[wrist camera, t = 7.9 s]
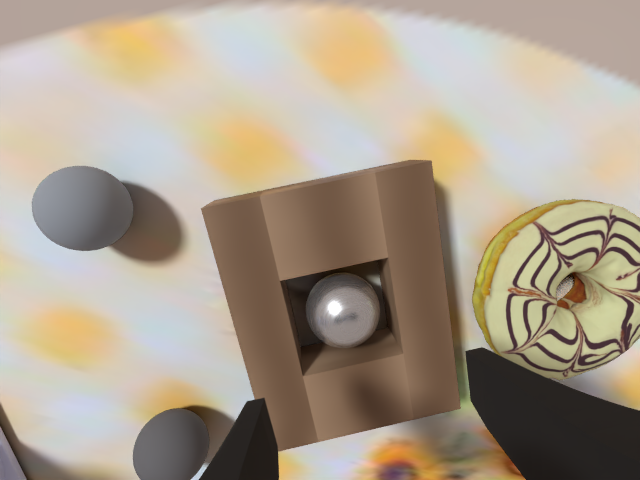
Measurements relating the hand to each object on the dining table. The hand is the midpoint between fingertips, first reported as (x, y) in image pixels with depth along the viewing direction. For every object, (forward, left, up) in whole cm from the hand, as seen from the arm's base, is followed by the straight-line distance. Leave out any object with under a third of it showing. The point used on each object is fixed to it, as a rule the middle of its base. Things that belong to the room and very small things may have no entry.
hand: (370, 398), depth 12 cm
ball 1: (-11, +8, -7) cm, 15 cm away
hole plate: (0, 0, -9) cm, 9 cm away
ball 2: (-11, -6, -7) cm, 14 cm away
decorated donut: (+13, -2, -10) cm, 16 cm away
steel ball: (0, 0, -7) cm, 7 cm away
